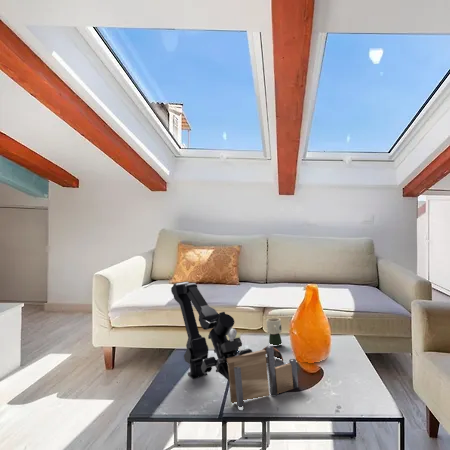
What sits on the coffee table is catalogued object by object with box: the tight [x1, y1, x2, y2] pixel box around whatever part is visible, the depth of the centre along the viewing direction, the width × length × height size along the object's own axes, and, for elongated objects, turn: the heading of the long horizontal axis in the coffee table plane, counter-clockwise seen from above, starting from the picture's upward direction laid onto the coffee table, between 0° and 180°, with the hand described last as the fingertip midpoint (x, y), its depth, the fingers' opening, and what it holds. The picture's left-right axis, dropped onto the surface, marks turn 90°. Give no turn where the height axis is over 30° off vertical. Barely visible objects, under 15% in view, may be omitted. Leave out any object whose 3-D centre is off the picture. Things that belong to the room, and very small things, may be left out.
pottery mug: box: [261, 346, 284, 364], centre depth 166 cm, size 12×10×8 cm
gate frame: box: [234, 345, 299, 407], centre depth 133 cm, size 4×26×17 cm, turn 117°
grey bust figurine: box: [227, 327, 240, 354], centre depth 184 cm, size 6×8×11 cm
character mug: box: [265, 317, 283, 345], centre depth 187 cm, size 11×7×13 cm, turn 0°
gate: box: [227, 349, 270, 403], centre depth 132 cm, size 2×14×16 cm, turn 113°
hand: (236, 383), depth 131 cm, fingers closed
